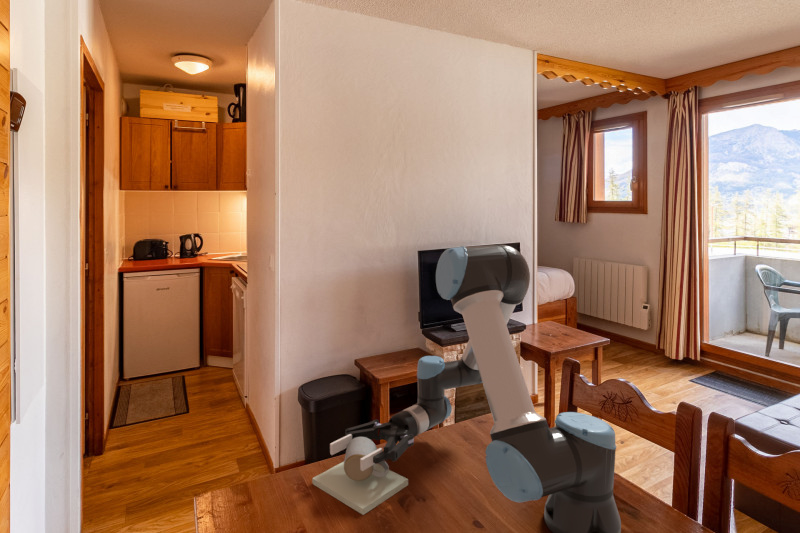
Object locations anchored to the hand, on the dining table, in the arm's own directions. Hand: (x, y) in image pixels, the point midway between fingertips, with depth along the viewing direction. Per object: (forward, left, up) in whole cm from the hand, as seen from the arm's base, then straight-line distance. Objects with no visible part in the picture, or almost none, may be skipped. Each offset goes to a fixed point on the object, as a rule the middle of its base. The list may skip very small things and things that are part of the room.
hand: (345, 456), depth 113 cm
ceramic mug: (-1, -5, -6) cm, 8 cm away
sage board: (0, -4, -9) cm, 10 cm away
